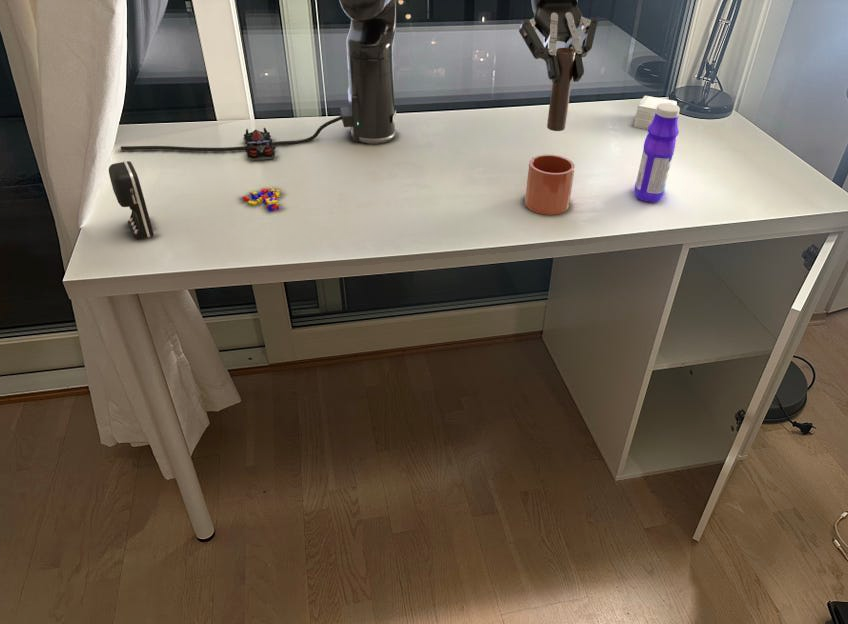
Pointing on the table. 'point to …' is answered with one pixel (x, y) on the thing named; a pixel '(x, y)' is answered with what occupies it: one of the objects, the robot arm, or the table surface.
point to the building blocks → (270, 202)
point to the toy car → (259, 145)
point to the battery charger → (131, 197)
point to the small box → (648, 110)
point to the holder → (549, 184)
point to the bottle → (657, 153)
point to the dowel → (561, 90)
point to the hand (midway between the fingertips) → (567, 79)
